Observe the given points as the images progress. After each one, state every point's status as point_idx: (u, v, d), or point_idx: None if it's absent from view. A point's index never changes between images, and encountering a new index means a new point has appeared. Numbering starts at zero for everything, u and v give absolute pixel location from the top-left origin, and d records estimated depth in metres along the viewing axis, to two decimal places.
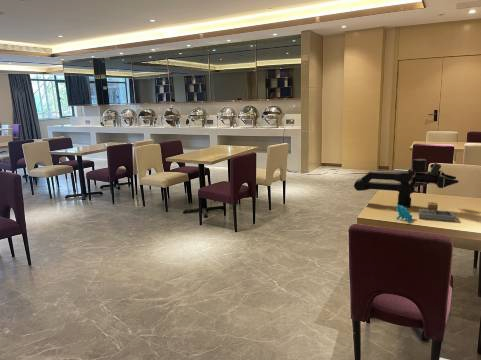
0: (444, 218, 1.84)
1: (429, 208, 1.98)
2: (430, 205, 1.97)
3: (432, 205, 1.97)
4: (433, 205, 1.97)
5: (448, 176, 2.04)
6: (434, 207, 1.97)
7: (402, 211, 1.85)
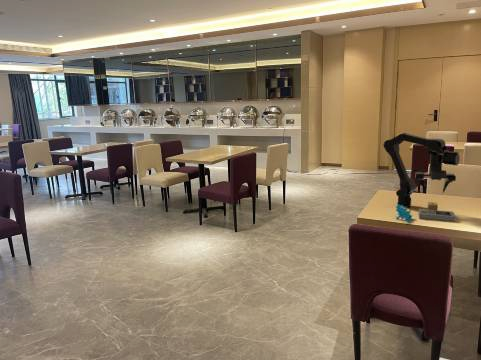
0: (444, 218, 1.84)
1: (429, 208, 1.98)
2: (430, 205, 1.97)
3: (432, 205, 1.97)
4: (433, 205, 1.97)
5: (444, 186, 1.94)
6: (434, 207, 1.97)
7: (402, 211, 1.85)
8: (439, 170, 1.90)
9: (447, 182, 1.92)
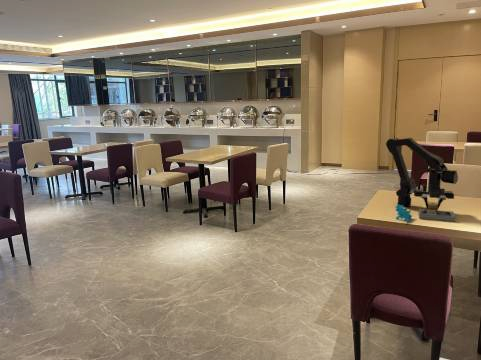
0: (444, 218, 1.84)
1: (429, 208, 1.98)
2: (430, 205, 1.97)
3: (432, 205, 1.97)
4: (433, 205, 1.97)
5: (438, 203, 1.97)
6: (434, 207, 1.97)
7: (401, 211, 1.85)
8: (437, 188, 1.92)
9: (441, 199, 1.95)
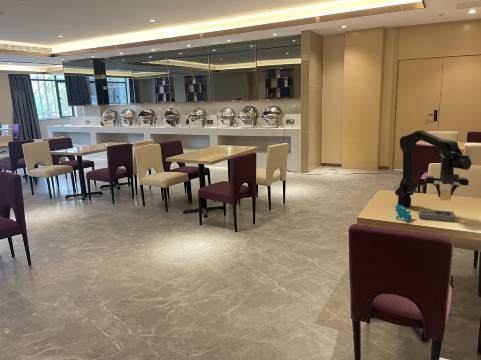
0: (444, 218, 1.84)
1: (441, 195, 1.84)
2: (443, 192, 1.84)
3: (445, 192, 1.83)
4: (446, 192, 1.83)
5: (451, 191, 1.83)
6: (447, 194, 1.83)
7: (401, 211, 1.86)
8: (451, 174, 1.79)
9: (454, 186, 1.81)
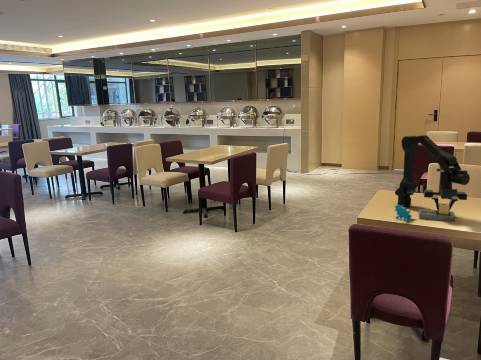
0: (444, 218, 1.84)
1: (440, 209, 1.86)
2: (441, 206, 1.85)
3: (443, 206, 1.85)
4: (444, 206, 1.85)
5: (450, 205, 1.85)
6: (445, 208, 1.85)
7: (401, 211, 1.86)
8: (449, 188, 1.80)
9: (453, 201, 1.83)
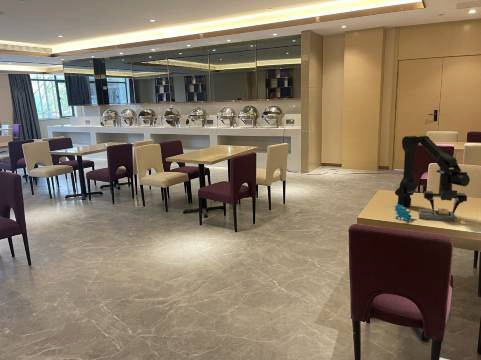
0: (444, 218, 1.84)
1: None
2: (441, 212, 1.86)
3: (443, 212, 1.85)
4: (444, 212, 1.85)
5: (454, 206, 1.84)
6: (445, 214, 1.85)
7: (400, 211, 1.86)
8: (449, 190, 1.80)
9: (457, 202, 1.82)
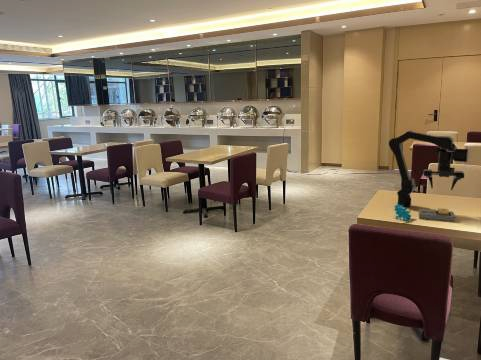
0: (444, 218, 1.84)
1: None
2: (441, 212, 1.86)
3: (443, 212, 1.85)
4: (444, 212, 1.85)
5: (452, 183, 1.94)
6: (445, 214, 1.85)
7: (400, 210, 1.86)
8: (447, 167, 1.90)
9: (455, 179, 1.92)
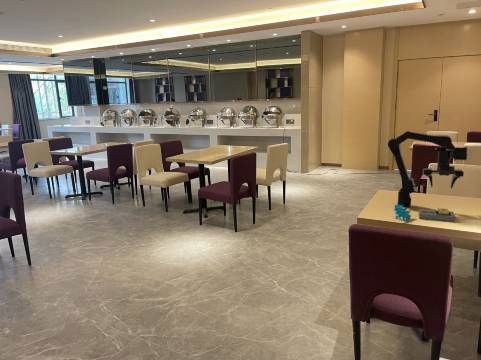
0: (444, 218, 1.84)
1: None
2: (441, 212, 1.86)
3: (443, 212, 1.85)
4: (444, 212, 1.85)
5: (452, 182, 1.97)
6: (445, 214, 1.85)
7: (400, 210, 1.86)
8: (447, 166, 1.93)
9: (455, 178, 1.94)
